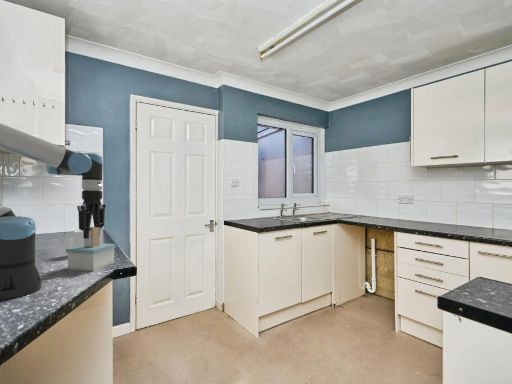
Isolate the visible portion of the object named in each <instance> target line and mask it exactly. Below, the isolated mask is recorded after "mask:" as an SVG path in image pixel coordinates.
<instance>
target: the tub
mask: <svg viewBox="0 0 512 384" xmlns="http://www.w3.org/2000/svg"><path fill="white" fill-rule="evenodd" d="M114 264H115V248H113V249H109V250H106V251H103V252H99V253H96V254H84V253H67V270H69V271H70V270H72V271H84V272H96V271H98V270H100V269H103V268H107V267H108V266H112V265H114Z"/></svg>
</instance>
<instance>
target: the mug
mask: <svg viewBox="0 0 512 384" xmlns="http://www.w3.org/2000/svg"><path fill="white" fill-rule="evenodd" d="M71 237H73V247H76V246H80V245H84V238H83V231H82V230H80V229H78V230H74V231H73V233H71V234H70V235H68V236H66V239H65V242H64V243H65V247H66V249H67V248H71V247H70V246H68V245H67V241H68V239H69V238H71Z"/></svg>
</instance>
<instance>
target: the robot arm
mask: <svg viewBox="0 0 512 384" xmlns="http://www.w3.org/2000/svg"><path fill="white" fill-rule="evenodd" d="M0 150H2V151H5V152H7V153H11V154H13V155H17V156H19V157H23V158H26V159H29V160H33V161H35V162H39V163H41V164H44V165H45V167H46V172H47V173H48V174H50V175H56V176H60V175H61V176H80V177H81V189H82V191H81V199H82V201H83V202H82V205H77V206H76V208H77V212H78V230H82V231H83V238H84V246H91V231H90V227H91V224H92V223H91V222H93V227H100V230H102V229H103V227H105V215H106V213H105V210H106V208H107V207H106V206H107V205H106V203H105V204H103V203H102V202H101V200H102V199H103V191H102V190H103V171H104V170H103V166H104V162H103V156H102V154H100V153H93V152H92V153H90V152H84V153H83V152H79V151H74V150H73V151H72V150H70V149H67V148H64V147H63V146H60V145H57V144H55V143H52V142H50V141H47V140H45V139H43V138H39V137H37V136H34V135H31V134H29V133H27V132H24V131H21V130H19V129H16V128H13V127H11V126H8V125H6V124H3V123H1V122H0ZM92 220H93V221H92ZM36 231H37V226H36V221H35V220H34V219H33V218H31V217H27V216H16V214H15V212H13V210H12V208H10V207H8V206H7V207H6V206H3V205H2V204H1V202H0V301H2V300H3V301H4V300H10V299H15V298H21V297H23V296H26V295H30V294H33V293H35V292H37V291H39V290H40V289H41V288H42V282H43V281H42V278H41V277H40V273H39V271H38V269H37V266H36Z"/></svg>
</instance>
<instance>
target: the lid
mask: <svg viewBox="0 0 512 384" xmlns="http://www.w3.org/2000/svg"><path fill="white" fill-rule="evenodd" d="M90 231H91V246H84V245H80V246H76V247H74V246H71V247H70V248H67V247H66V248H65V253H67V254H68V253H84V254H96V253H99V252H103V251H106V250H109V249H113V248H114V249H116V248H117V244H116V243H100V236H101V229H100V227H94V226H90Z"/></svg>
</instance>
